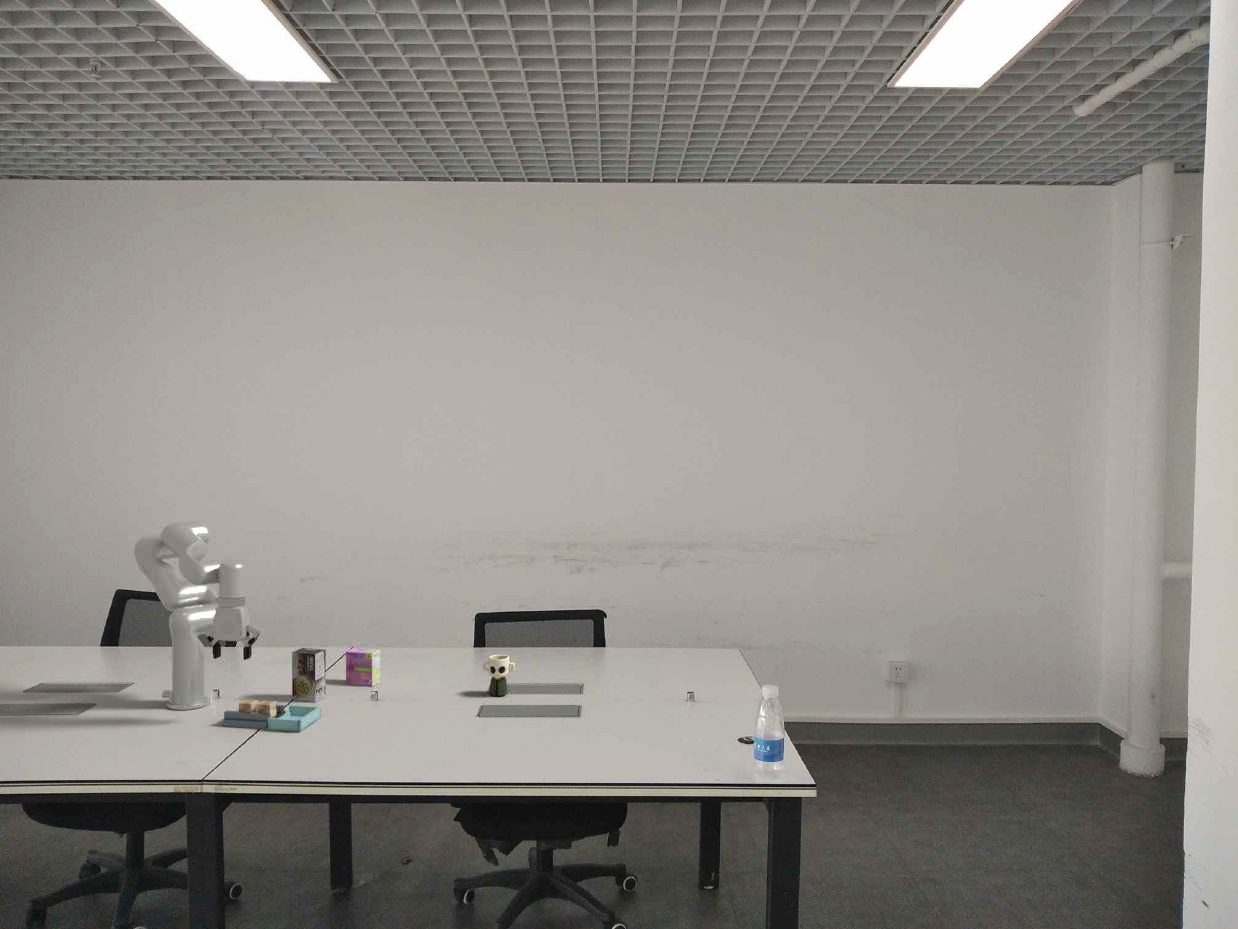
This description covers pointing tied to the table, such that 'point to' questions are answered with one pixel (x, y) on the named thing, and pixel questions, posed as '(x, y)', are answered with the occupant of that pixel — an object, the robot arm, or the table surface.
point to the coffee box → (308, 674)
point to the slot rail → (250, 718)
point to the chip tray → (295, 719)
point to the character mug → (498, 673)
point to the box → (362, 667)
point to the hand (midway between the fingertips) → (232, 658)
